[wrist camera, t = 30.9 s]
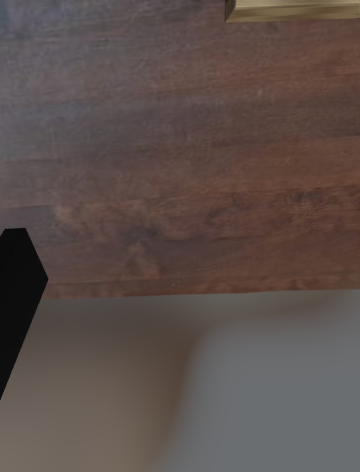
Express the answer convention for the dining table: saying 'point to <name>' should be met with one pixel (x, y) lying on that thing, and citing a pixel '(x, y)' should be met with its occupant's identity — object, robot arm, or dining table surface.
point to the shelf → (290, 10)
